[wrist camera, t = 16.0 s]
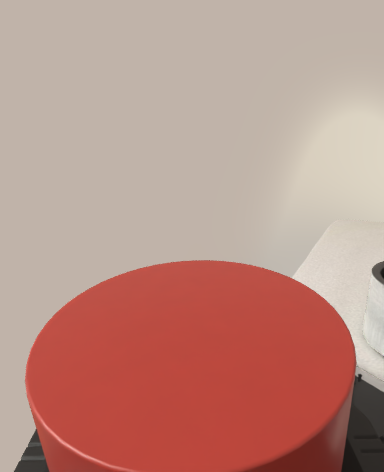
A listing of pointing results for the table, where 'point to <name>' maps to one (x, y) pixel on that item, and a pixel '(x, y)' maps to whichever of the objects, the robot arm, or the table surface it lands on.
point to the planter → (375, 310)
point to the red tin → (193, 374)
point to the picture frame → (370, 399)
